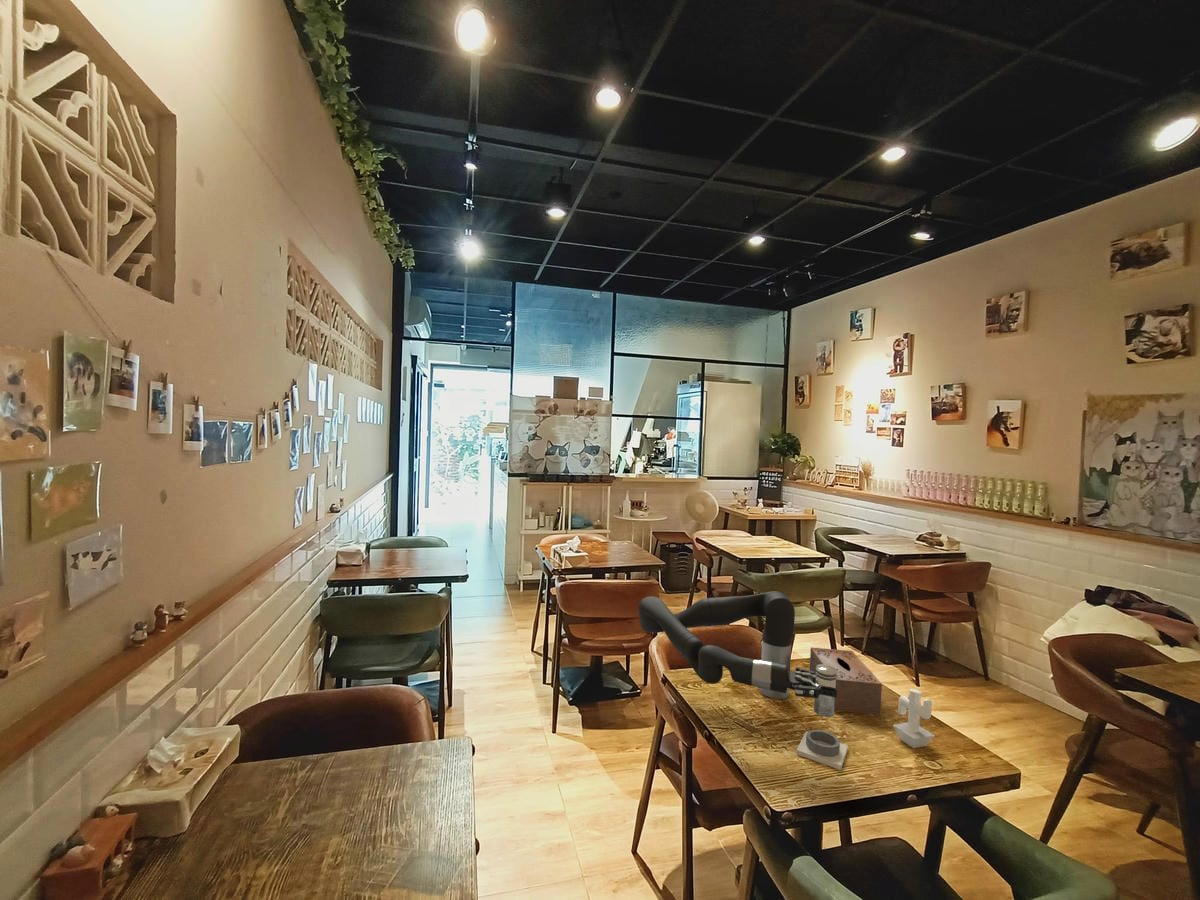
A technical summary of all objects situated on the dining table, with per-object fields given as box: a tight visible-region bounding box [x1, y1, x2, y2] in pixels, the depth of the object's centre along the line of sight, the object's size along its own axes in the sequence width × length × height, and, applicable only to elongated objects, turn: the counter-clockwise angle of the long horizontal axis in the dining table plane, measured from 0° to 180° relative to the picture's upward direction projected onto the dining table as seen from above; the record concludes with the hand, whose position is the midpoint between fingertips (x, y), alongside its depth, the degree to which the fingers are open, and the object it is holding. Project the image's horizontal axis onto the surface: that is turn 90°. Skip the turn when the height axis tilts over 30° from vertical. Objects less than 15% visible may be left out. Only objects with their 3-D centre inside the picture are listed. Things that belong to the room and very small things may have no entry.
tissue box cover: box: [809, 646, 883, 716], centre depth 174 cm, size 26×14×10 cm, turn 173°
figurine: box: [892, 688, 935, 749], centre depth 146 cm, size 7×9×15 cm
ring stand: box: [795, 729, 849, 771], centre depth 140 cm, size 11×11×4 cm
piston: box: [813, 664, 836, 718], centre depth 139 cm, size 5×5×12 cm
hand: (835, 688), depth 138 cm, fingers closed on piston, 5 cm apart
